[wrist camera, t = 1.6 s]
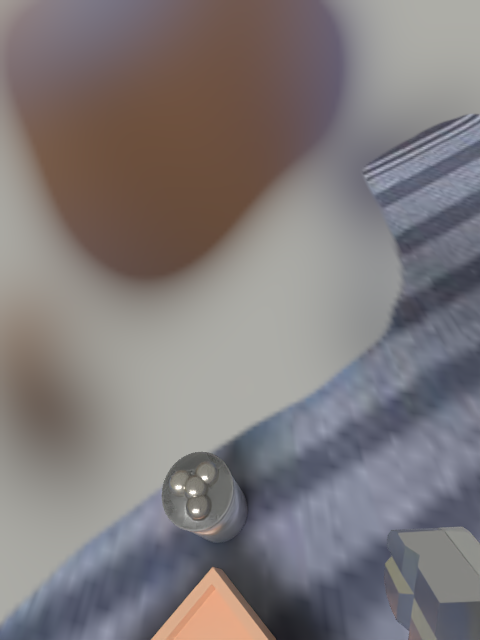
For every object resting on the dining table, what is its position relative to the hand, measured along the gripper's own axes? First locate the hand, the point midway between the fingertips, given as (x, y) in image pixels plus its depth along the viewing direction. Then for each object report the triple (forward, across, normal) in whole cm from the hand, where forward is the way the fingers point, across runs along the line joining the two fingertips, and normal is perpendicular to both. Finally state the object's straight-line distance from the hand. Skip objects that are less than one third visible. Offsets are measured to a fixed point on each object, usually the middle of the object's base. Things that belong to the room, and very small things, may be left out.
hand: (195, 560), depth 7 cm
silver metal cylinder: (+25, 0, +20) cm, 32 cm away
